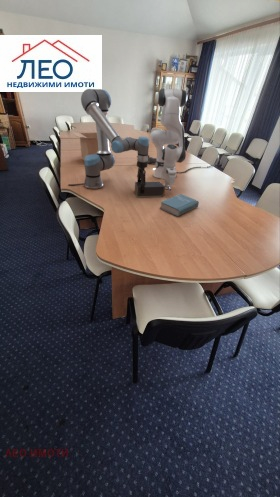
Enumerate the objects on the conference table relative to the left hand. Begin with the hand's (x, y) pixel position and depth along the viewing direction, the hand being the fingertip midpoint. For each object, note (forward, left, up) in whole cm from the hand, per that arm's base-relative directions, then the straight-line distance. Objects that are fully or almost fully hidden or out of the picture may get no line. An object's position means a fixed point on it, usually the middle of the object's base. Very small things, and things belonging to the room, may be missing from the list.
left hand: (140, 190), depth 171 cm
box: (-67, +69, -3) cm, 96 cm away
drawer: (+11, +5, -2) cm, 12 cm away
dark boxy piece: (+6, +3, -3) cm, 7 cm away
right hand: (+19, +8, +3) cm, 21 cm away
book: (+32, -14, -3) cm, 35 cm away
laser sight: (-11, +87, -3) cm, 88 cm away
